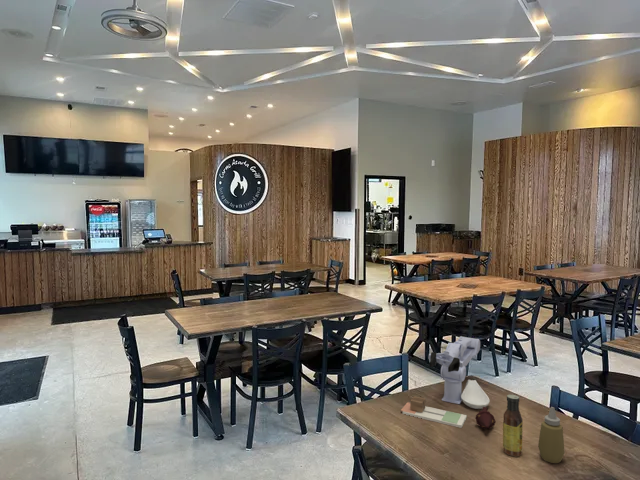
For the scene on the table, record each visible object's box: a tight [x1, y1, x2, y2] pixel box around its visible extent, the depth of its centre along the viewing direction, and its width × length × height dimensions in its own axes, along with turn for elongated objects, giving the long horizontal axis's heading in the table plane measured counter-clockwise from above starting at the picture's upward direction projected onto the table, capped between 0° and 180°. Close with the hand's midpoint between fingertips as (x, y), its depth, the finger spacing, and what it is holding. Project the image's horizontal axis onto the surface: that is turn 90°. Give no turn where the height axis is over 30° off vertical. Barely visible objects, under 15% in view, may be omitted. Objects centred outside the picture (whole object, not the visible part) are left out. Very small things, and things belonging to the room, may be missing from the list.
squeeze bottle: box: [537, 406, 566, 464], centre depth 147 cm, size 8×8×18 cm
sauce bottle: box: [502, 394, 524, 457], centre depth 151 cm, size 7×6×20 cm
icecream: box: [475, 406, 496, 430], centre depth 169 cm, size 7×7×15 cm
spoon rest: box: [461, 379, 491, 410], centre depth 194 cm, size 24×12×7 cm, turn 168°
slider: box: [409, 396, 426, 412], centre depth 182 cm, size 5×5×4 cm
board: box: [400, 401, 467, 429], centre depth 179 cm, size 10×25×1 cm, turn 61°
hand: (439, 367), depth 177 cm, fingers open, 7 cm apart
